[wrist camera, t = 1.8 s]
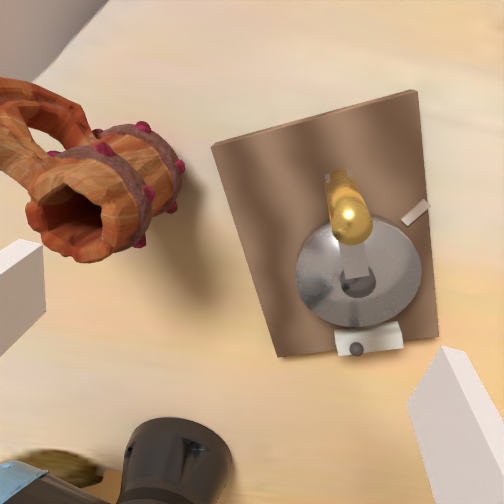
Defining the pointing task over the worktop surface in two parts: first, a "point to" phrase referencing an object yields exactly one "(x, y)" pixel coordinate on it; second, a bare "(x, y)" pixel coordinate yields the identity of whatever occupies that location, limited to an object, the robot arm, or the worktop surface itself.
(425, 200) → the stand
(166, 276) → the worktop surface
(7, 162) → the mug
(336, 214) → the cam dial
